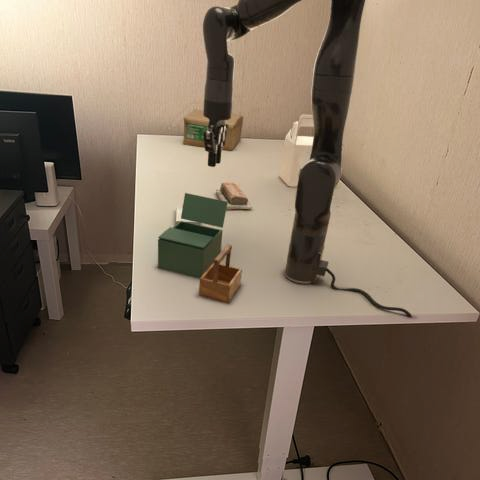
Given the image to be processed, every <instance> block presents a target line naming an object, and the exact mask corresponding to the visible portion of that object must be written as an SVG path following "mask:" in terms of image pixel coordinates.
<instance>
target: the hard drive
mask: <svg viewBox="0 0 480 480" xmlns="http://www.w3.org/2000/svg"><path fill="white" fill-rule="evenodd" d="M182 208H183V207H176V208H175V225H176V224H178V223H179V222H180V221H184V222H188V223H193V224H197V225H202V223H199V222H194V221H190V220H185V219H181V215H182Z"/></svg>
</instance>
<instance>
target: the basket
mask: <svg viewBox="0 0 480 480" xmlns="http://www.w3.org/2000/svg"><path fill="white" fill-rule="evenodd" d="M232 249H233V245H232V244H231V243H227V244H226V245H225V247H223V249H221V252H220V254H219V255H218V256H217V257H216V258H215V259H214V263H213V264H212V265H211V266H210V267H209V268H208V270H207V271H206V272H205V273H204V274H203V275H202V277H201V278H199V285H198V287H199V288H198V296H199V297H203V298H206V299H210V300H214V301H218V302H222V303H227V304H229V303H230V302H231V299H232V298H233V297H234V296H235V294H236V293H237V291H238V289H239V288H240V287H241V284H242V283H241V282H242V273H243V268H240V267H236V266H231V255H232ZM224 259H225V264H223V263H222V262H223V260H224Z"/></svg>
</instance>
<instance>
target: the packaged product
mask: <svg viewBox="0 0 480 480" xmlns="http://www.w3.org/2000/svg"><path fill="white" fill-rule="evenodd" d="M215 193H216V195H217V197H218V200H222V201H227V202H228V203H227V208H226V211H227V210H250V211H252V208H253V206H252V205H251V204H250V203H249V199H248V197H247V196H246V194H245V193H244V192H243V190H242V189H241V188H240V186H239V185H238V184H237V183H235V182H221V183H220V189H218V188H217V189H215Z"/></svg>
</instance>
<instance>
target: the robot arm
mask: <svg viewBox="0 0 480 480" xmlns="http://www.w3.org/2000/svg"><path fill="white" fill-rule="evenodd" d="M302 1H303V0H238V1H237V4H235V5H233V6H230V7H228V6H227V7H225V6H220V5H219V6H218V5H217V6H212V7H210V8H209V9H208V10H206V13H205V15H204V16H203V20H202V35H203V43H204V50H205V54H206V74H205V84H204V93H203V94H204V95H203V110H204V112H203V115H204V116H205V117H206V118H208V119H209V124H208V127H207V131H205V130H204V133H203V134H204V144H205V147H204V151H205V152H207V166H208V167H211V168H215V167H216V166H217V165H219V164H221V161H222V150H224V149H223V146H225V142H226V136H227V131H228V124H225V120H229V119H230V118H231V115H232V114H233V103H234V102H233V100H234V77H235V67H236V65H235V64H236V63H235V62H236V60H235V57H234V56H233V55H232V54H231V53H229V50H228V42H234V41H236V40H239V39H241V38H243V37H244V36H246V35H248V34H249V33H250V32H252V31H253V30H254V29H256V28H258V27H261V26H264V25H266V24H268V23H270V22H272V21H274V20H276V19H278V18H279V17H281V16H282V15H284V14H285V13H287V12H288V11H289V10H290V9H291V8H293V7H294V6H295V5H297V4H299V3H300V2H302ZM365 4H366V0H330V8H329V9H330V11H329V18H328V24H327V26H326V30H325V33H324V36H323V38H322V40H321V44H320V46H319V49H318V52H317V54H316V58H315V61H314V65H313V72H312V83H311V92H310V102H311V105H310V106H311V115H313V123H314V127H313V136H314V138H313V145H312V151H311V153H310V156H309V159H308V161H307V162H305V164H304V165H303V166H302V167H301V168H300V169H301V172H300V175H299V179H298V185H297V187H296V192H295V199H294V218H293V221H292V222H293V223H292V229H291V234H290V241H289V246H288V251H287V257H286V264H285V268H284V277H285V278H286V279H287V280H288V281H291V282H294V283H296V284H301V285H308V284H309V285H310V284H311V285H315V284H316V282H317V280H318V276H320V277H325V275H326V274H329V275H330V277H331V281H330V287H331V288H332V289H333V290H334V291H344V292H357V293H360V294H363V295H364V296H365V297H366V298H367V299H368V300H369V302H371V303H372V304H373V305H374V306H375V307H377V308H379V309H382V310H386V311H395V312H397V311H398V312H401V313H403V314H405V315H406V316H407V317H408V318H410V319H412V318H413V316H412V314H411V312H409V310H407V309H405V308H403V307H398V306H397V307H396V306H387V305H386V306H385V305H382V304H380V303H378V302H377V301H376V300H374V298H372V297H371V295H370V294H369V293H368V292H367V291H365V290H363V289H361V288H355V287H350V288H339V287H336V286H335V285H334V284H335V282H336V276H335V274H334V273H333V271H331V270H330V269H329V268H328V266H329V261H328V260H324V259H323V254H324V250H325V243H326V238H327V235H328V234H327V233H328V229H329V224H330V220H331V215H332V212H331V207H332V202H333V196H334V193H335V188H336V186H337V185H338V184H339V182H340V179H341V177H342V167H343V165H342V164H343V163H342V161H343V152H342V143H343V142H344V141H343V140H344V133H345V129H346V124H347V119H348V114H349V109H350V103H351V98H352V94H353V86H354V79H355V72H356V64H357V63H356V62H357V55H358V48H359V40H360V30H361V23H362V17H363V13H364V9H365ZM343 144H344V143H343Z"/></svg>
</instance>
